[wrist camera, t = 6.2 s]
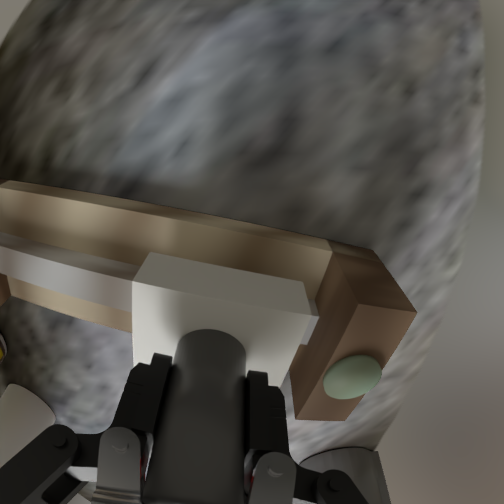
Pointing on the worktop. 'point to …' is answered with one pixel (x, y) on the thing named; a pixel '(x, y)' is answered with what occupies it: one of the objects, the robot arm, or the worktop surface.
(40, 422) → the cylindrical container
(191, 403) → the carriage
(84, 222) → the rail
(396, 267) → the worktop surface
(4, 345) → the supplement bottle
